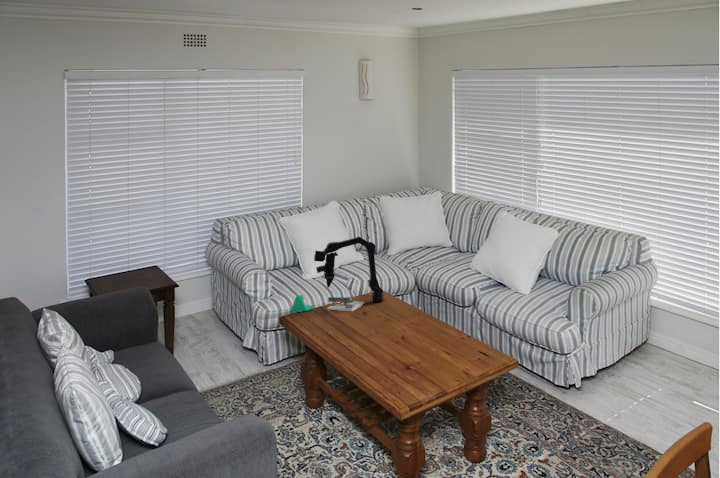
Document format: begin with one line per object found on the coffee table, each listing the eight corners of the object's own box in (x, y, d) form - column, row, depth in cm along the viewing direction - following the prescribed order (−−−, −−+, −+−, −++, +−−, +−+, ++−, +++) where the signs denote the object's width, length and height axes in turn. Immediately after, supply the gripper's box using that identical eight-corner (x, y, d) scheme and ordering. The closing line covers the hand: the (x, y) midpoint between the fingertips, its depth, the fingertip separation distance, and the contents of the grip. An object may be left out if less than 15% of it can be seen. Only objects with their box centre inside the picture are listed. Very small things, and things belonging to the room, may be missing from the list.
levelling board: (364, 303, 392) (363, 297, 392) (352, 311, 376) (351, 304, 376) (339, 303, 400) (339, 296, 399) (326, 310, 384) (326, 303, 383)
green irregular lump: (313, 309, 390) (312, 294, 389) (306, 312, 384) (304, 296, 382) (300, 308, 397) (298, 292, 396) (292, 310, 391) (290, 295, 390)
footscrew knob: (354, 302, 391) (353, 296, 390) (350, 305, 386) (349, 299, 385) (331, 302, 398) (330, 296, 397) (327, 304, 393) (326, 298, 392)
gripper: (317, 259, 396) (315, 282, 397) (317, 263, 377) (315, 287, 379) (334, 260, 397) (332, 283, 398) (335, 264, 378) (333, 289, 380)
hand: (327, 286), depth 389 cm, fingers open, 9 cm apart
